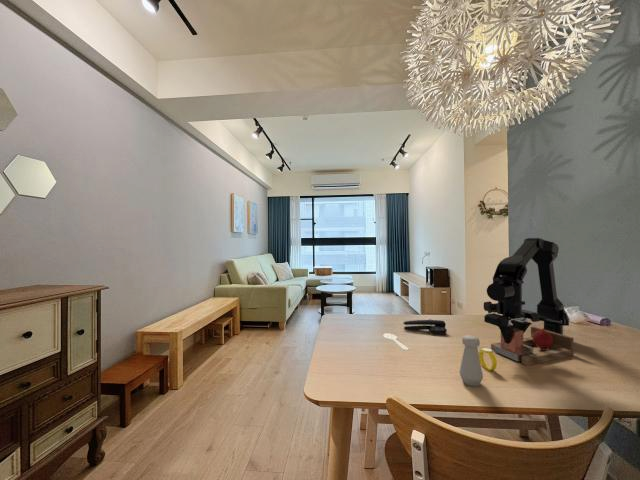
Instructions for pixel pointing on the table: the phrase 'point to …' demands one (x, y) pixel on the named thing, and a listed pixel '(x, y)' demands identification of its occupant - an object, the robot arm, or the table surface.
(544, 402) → the table surface
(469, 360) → the salt shaker
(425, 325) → the can opener
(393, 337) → the spoon
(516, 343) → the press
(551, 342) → the onion
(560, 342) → the bench
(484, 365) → the watch
